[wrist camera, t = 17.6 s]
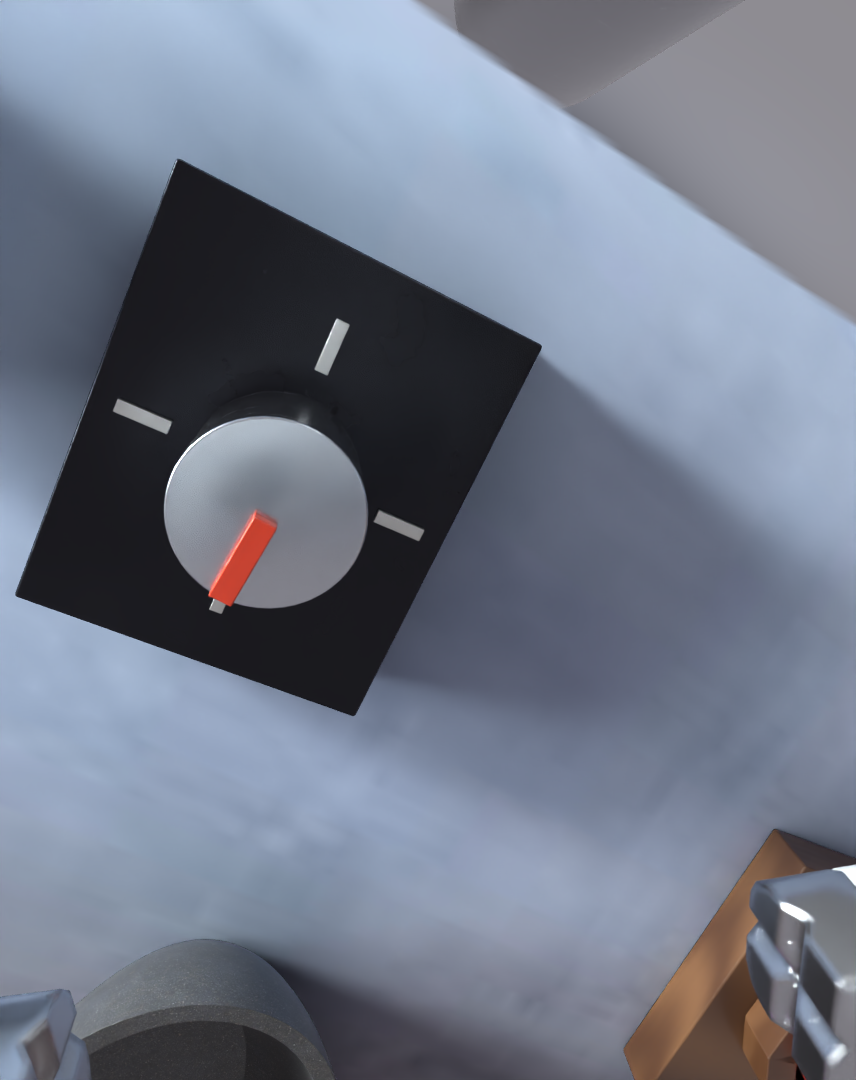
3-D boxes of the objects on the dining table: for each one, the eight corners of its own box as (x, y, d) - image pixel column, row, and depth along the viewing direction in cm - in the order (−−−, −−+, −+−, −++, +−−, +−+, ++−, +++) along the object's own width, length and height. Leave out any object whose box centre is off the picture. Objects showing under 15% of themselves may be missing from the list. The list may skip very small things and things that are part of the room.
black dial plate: (194, 171, 22) (174, 155, 19) (517, 336, 24) (545, 346, 21) (48, 558, 24) (11, 599, 21) (350, 670, 27) (355, 721, 24)
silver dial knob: (240, 356, 20) (222, 378, 16) (390, 443, 21) (406, 484, 17) (161, 502, 21) (124, 557, 17) (308, 578, 22) (306, 646, 18)
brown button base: (773, 827, 31) (835, 903, 28) (959, 896, 34) (1040, 974, 30) (621, 1049, 34) (659, 1146, 30) (804, 1097, 37) (859, 1192, 33)
